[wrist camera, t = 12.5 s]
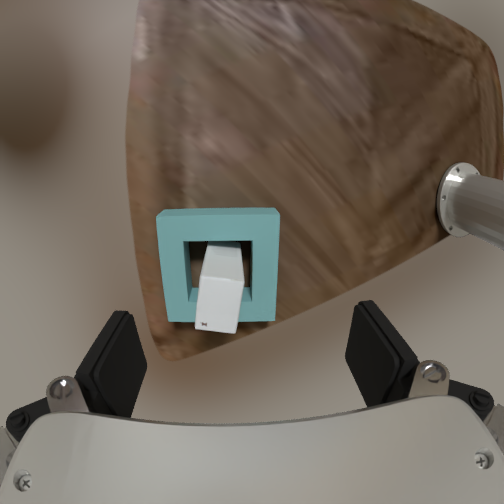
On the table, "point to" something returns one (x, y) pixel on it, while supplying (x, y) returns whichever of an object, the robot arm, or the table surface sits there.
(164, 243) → the hollow square block
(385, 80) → the table surface
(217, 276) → the skincare box
